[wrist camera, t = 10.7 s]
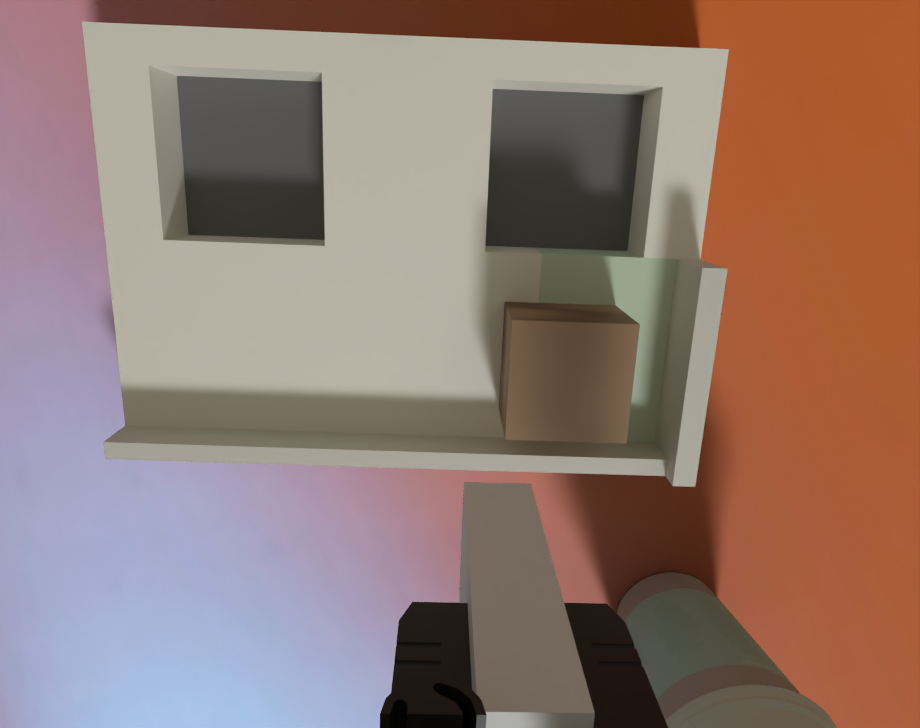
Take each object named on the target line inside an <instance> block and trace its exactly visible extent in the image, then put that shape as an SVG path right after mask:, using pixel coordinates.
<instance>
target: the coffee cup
mask: <svg viewBox="0 0 920 728" xmlns="http://www.w3.org/2000/svg"><path fill="white" fill-rule="evenodd" d="M617 615H618V616H619V617H620V618H621V619H622V620H623V621H624V622H625V623H626V625H627V627H628V630H629V632H630V635H631V637H632V640H633V642H634V648H636V650H637V652H638V654H639V657H640V659H641V662H642V667H644V669H645V672H646V674H647V677H648V679H649V682H650V684H651V686H652V689H653V691H654V694H655V696H656V699H657V701H658V704H659V706H660V709H661V711H662V714H663V716H664V718H665V721H666V723H667V726H668V728H836V726H835V724H834V722H833V721H832V719H831V718H830V717H829V715H828V714H827V713H826V712H825V711H824V710H823V709H822V708H821V707H820V706H818V705H817V704H816V703H814V702H813V701H812V700H810V699H808V698H807V697H805V696H803V695H801V694H800V693H799V691H798V690H797V689H796V688H795V687H794V686H793V684H792V683H791V682H790V681H789V680H788V679H787V678H786V676H785V675H784V674H783V673H782V672H781V671H780V669H779V668H778V667H777V666H776V665H775V664H774V662H773V661H772V660H771V659H770V658H769V657H768V656H767V654H766V653H765V652H764V651H763V650H762V649H761V647H760V646H759V645H758V644H757V643H756V642H755V640H754V639H753V638H752V637H751V636H750V635H749V634H748V632H747V631H746V630H745V629H744V628H743V627H742V625H741V624H740V623H739V622H738V621H737V620H736V619H735V617H734V616H733V615H732V614H731V613H730V612H729V610H728V609H727V608H726V607H725V606H724V605H723V604H722V602H721V601H720V600H719V599H718V598H717V597H716V596H715V594H714V593H713V592H712V591H711V590H710V589H709V588H708V587H707V586H706V585H705V584H704V583H703V582H702V581H700V580H699V579H697V578H695V577H693V576H690V575H687V574H683V573H676V572H667V573H660V574H656V575H652V576H649V577H647V578H645V579H643V580H641V581H640V582H638V583H637V584H635V585H634V586H633V587H632V588H630V589H629V591H628V592H627V593H626V594H625V595H624V597H623V598H622V600H621V602H620V604H619V606H618V609H617Z"/></svg>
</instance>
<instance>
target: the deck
mask: <svg viewBox="0 0 920 728" xmlns="http://www.w3.org/2000/svg"><path fill="white" fill-rule="evenodd" d="M82 27H83V36H84V45H85V55H86V64H87V73H88V83H89V92H90V101H91V110H92V120H93V129H94V138H95V148H96V157H97V166H98V175H99V185H100V194H101V203H102V213H103V222H104V231H105V240H106V250H107V259H108V268H109V278H110V287H111V296H112V305H113V315H114V324H115V333H116V342H117V352H118V361H119V370H120V380H121V389H122V398H123V407H124V417H125V426H124V427H123V428H122V429H120V430H119V431H118V432H116V433H115V434H114V435H112V436H111V437H110V438H108V439H107V440H106V441H104V451H105V459H125V460H157V461H190V462H222V463H255V464H287V465H320V466H352V467H385V468H417V469H450V470H482V471H515V472H547V473H580V474H612V475H645V476H666V478H667V479H668V481H669V482H670V483H671V485H672V486H684V487H695V485H696V478H697V472H698V465H699V458H700V451H701V444H702V438H703V431H704V424H705V417H706V411H707V404H708V397H709V390H710V384H711V377H712V370H713V363H714V356H715V350H716V343H717V336H718V329H719V323H720V316H721V309H722V302H723V296H724V289H725V282H726V275H727V268H724V267H721V266H718V265H714V264H711V263H708V262H705V261H702V260H700V257H701V250H702V242H703V235H704V228H705V220H706V213H707V206H708V198H709V191H710V183H711V176H712V169H713V161H714V154H715V147H716V139H717V132H718V125H719V117H720V110H721V103H722V95H723V88H724V80H725V73H726V66H727V58H728V51H729V49H709V48H685V47H662V46H639V45H615V44H592V43H568V42H545V41H522V40H498V39H475V38H452V37H428V36H405V35H382V34H358V33H335V32H311V31H288V30H265V29H241V28H218V27H195V26H171V25H148V24H125V23H101V22H82ZM505 302H530V303H558V304H587V305H615V306H617V307H618V308H620V309H621V310H622V311H623V312H625V313H626V314H627V315H629V316H630V317H631V318H632V319H634V320H635V321H636V322H638V323H639V324H640V329H639V338H638V347H637V356H636V364H635V373H634V382H633V391H632V399H631V408H630V417H629V426H628V435H627V443H626V444H625V443H593V442H562V441H530V440H505V437H504V432H503V427H502V422H501V417H500V411H499V392H500V374H501V356H502V338H503V321H504V303H505Z"/></svg>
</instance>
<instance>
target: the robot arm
mask: <svg viewBox="0 0 920 728" xmlns="http://www.w3.org/2000/svg"><path fill="white" fill-rule="evenodd" d="M459 590H460V603H438V602H412V604H411V605H410V606H409V608H408V609H407V610H406V612H405V613H404V614H403V616H402V617H401V618H400V620H399V626H398V635H397V646H396V654H395V665H394V673H393V682H392V692H391V694H390V695H389V696H388V697H387V698H386V700H385V702H384V705H383V708H382V710H381V713H380V728H668V726H667V723H666V721H665V718H664V716H663V714H662V711H661V709H660V706H659V704H658V701H657V699H656V696H655V694H654V691H653V689H652V686H651V684H650V682H649V679H648V677H647V674H646V672H645V669H644V667H642V662H641V659H640V657H639V654H638V652H637V650H636V648H634V642H633V640H632V637H631V635H630V632H629V630H628V627H627V625H626V623H625V622H624V621H623V620H622V619H621V618H620V617H619V616H618V615H617V614H616V613H615V612H614V611H613V610H612V609H611V608H610V607H609V606H608V605H607V604H590V603H564V601H563V598H562V594H561V590H560V587H559V583H558V580H557V576H556V572H555V569H554V565H553V562H552V558H551V555H550V551H549V547H548V544H547V540H546V537H545V533H544V530H543V526H542V522H541V519H540V515H539V512H538V508H537V505H536V501H535V497H534V494H533V490H532V487H531V484H519V483H479V482H464V493H463V517H462V540H461V564H460V587H459Z"/></svg>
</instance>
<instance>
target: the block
mask: <svg viewBox="0 0 920 728" xmlns="http://www.w3.org/2000/svg"><path fill="white" fill-rule="evenodd" d="M639 329H640V324H639V323H638V322H636V321H635V320H634V319H632V318H631V317H630V316H629V315H627V314H626V313H625V312H623V311H622V310H621V309H620V308H618V307H617V306H615V305H587V304H558V303H530V302H505V303H504V321H503V338H502V356H501V374H500V392H499V411H500V417H501V422H502V427H503V432H504V437H505V440H530V441H562V442H593V443H625V444H626V443H627V435H628V426H629V417H630V408H631V399H632V391H633V382H634V373H635V364H636V356H637V347H638V338H639Z"/></svg>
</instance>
